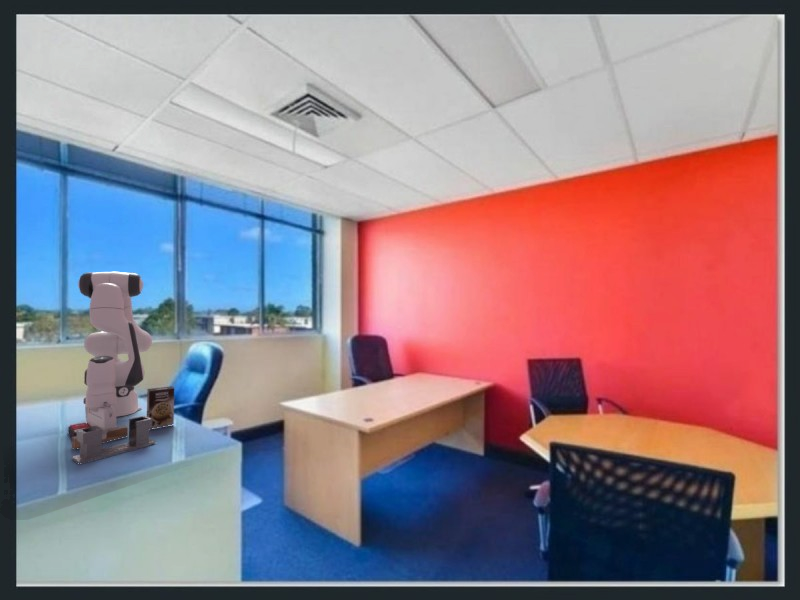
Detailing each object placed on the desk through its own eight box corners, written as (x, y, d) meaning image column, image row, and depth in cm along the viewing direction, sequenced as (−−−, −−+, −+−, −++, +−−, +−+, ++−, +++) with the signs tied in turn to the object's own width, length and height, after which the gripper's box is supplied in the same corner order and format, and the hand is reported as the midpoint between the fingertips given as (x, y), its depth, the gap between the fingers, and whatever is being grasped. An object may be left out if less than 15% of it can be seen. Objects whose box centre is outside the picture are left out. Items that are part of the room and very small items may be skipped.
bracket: (72, 459, 124) (72, 430, 124) (147, 440, 142) (147, 414, 142) (78, 464, 120) (79, 434, 120) (155, 444, 138) (155, 418, 138)
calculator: (102, 418, 158) (110, 424, 148) (102, 429, 158) (110, 435, 148) (68, 424, 150) (74, 431, 140) (68, 435, 150) (73, 442, 140)
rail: (71, 448, 134) (72, 437, 134) (124, 435, 147) (124, 425, 147) (74, 450, 132) (74, 438, 132) (127, 437, 145) (127, 427, 145)
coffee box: (148, 430, 152) (149, 391, 153) (146, 427, 157) (146, 388, 157) (174, 426, 158) (174, 388, 159) (171, 422, 163) (171, 385, 164)
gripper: (122, 402, 136) (121, 440, 136) (102, 395, 148) (101, 430, 148) (100, 406, 131) (100, 446, 131) (81, 398, 143) (81, 434, 143)
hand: (100, 437), depth 139 cm, fingers closed on rail, 3 cm apart
